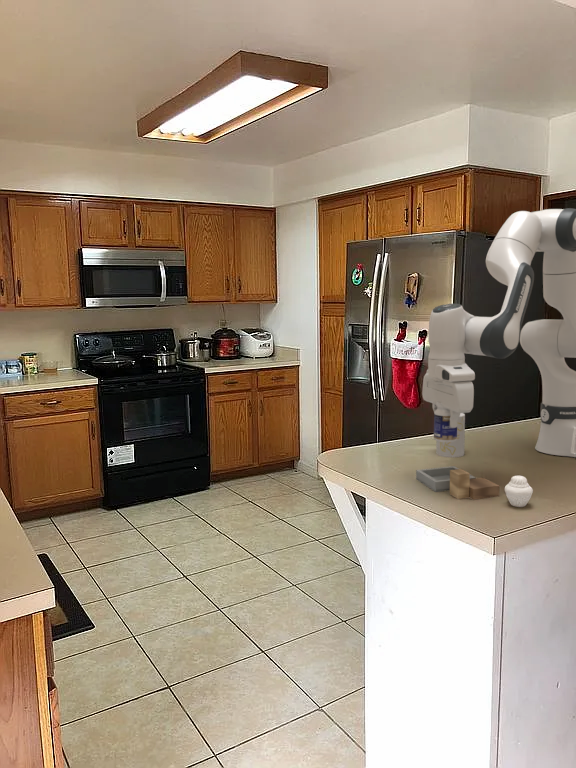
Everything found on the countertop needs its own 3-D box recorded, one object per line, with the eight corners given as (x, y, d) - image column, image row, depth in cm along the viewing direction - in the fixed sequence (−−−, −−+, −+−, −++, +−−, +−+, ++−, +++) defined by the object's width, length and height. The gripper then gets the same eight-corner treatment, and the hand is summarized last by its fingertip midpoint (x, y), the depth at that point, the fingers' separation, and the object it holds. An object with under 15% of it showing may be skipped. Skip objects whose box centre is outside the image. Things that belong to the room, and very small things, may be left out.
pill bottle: (444, 444, 160) (444, 404, 158) (429, 439, 165) (429, 401, 163) (462, 440, 162) (462, 401, 161) (446, 436, 167) (447, 398, 166)
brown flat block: (482, 489, 161) (482, 477, 161) (499, 497, 154) (499, 485, 154) (457, 492, 159) (457, 480, 159) (473, 501, 152) (473, 488, 152)
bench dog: (460, 492, 158) (461, 468, 157) (469, 497, 154) (469, 473, 153) (449, 493, 157) (449, 470, 156) (457, 499, 153) (458, 474, 152)
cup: (434, 456, 191) (434, 416, 189) (438, 449, 198) (439, 411, 197) (462, 458, 188) (463, 417, 186) (465, 451, 195) (466, 412, 194)
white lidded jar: (498, 503, 149) (499, 474, 148) (516, 498, 152) (517, 469, 151) (520, 511, 144) (521, 481, 143) (538, 505, 147) (539, 476, 146)
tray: (454, 475, 172) (454, 466, 171) (475, 487, 161) (475, 477, 161) (416, 479, 169) (416, 470, 169) (435, 491, 159) (435, 482, 158)
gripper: (416, 365, 170) (416, 417, 172) (454, 375, 150) (453, 433, 152) (438, 364, 171) (438, 415, 174) (479, 374, 152) (478, 431, 154)
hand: (445, 424), depth 163 cm, fingers closed on pill bottle, 6 cm apart
